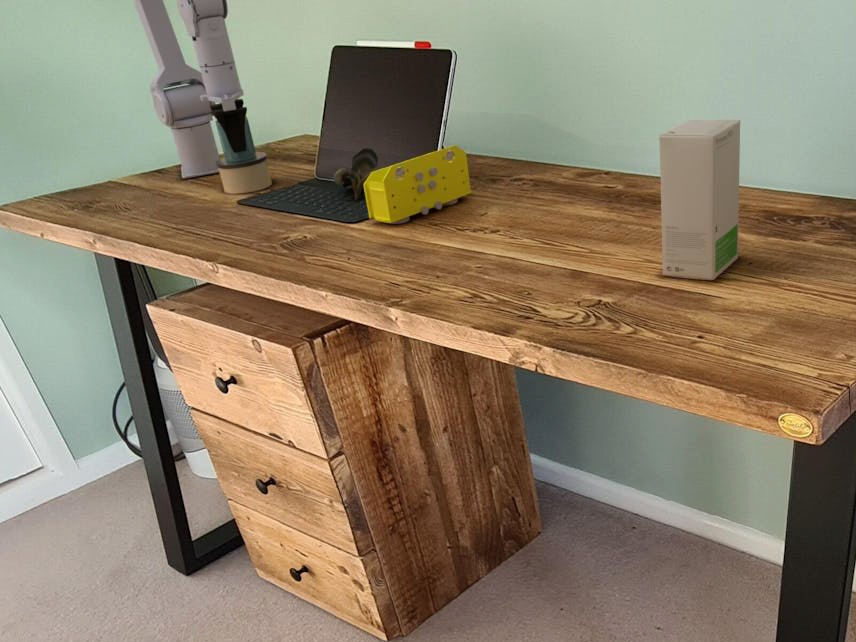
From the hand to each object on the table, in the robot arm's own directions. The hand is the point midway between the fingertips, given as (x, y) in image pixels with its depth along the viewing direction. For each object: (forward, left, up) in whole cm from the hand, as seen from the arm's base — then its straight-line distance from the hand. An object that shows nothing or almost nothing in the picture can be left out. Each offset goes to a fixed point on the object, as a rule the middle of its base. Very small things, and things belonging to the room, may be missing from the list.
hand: (238, 148), depth 156 cm
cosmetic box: (+80, +45, -7) cm, 92 cm away
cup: (0, 0, -2) cm, 2 cm away
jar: (0, 0, -7) cm, 7 cm away
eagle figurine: (+19, +17, -7) cm, 26 cm away
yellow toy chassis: (+36, +23, -7) cm, 43 cm away
